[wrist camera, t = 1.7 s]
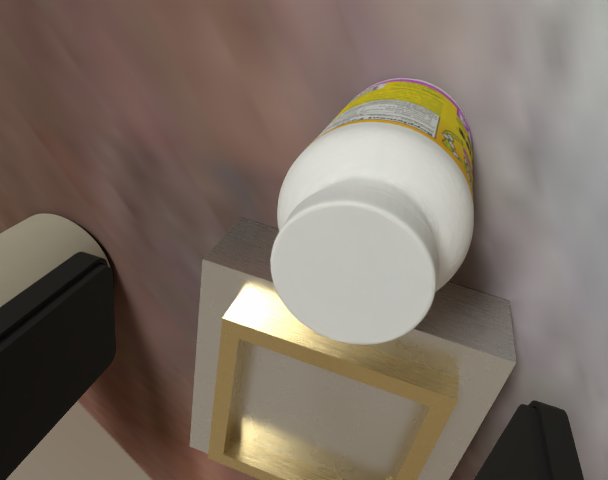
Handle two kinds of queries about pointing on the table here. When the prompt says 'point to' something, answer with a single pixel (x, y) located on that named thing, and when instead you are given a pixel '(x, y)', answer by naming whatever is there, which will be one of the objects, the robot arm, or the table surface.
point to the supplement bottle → (376, 214)
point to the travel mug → (39, 251)
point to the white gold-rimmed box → (337, 379)
